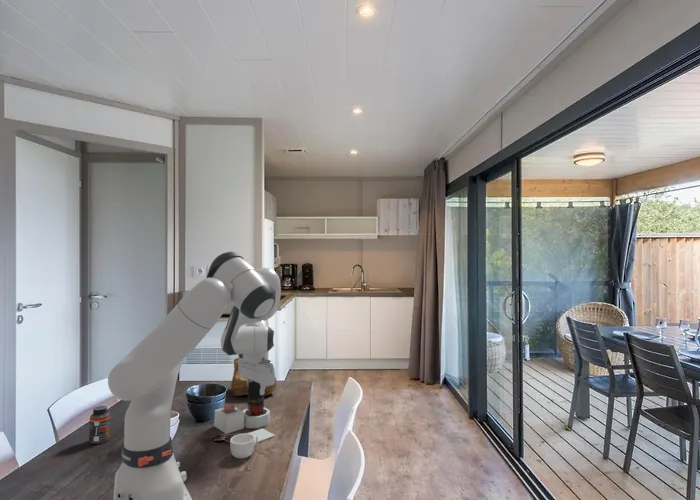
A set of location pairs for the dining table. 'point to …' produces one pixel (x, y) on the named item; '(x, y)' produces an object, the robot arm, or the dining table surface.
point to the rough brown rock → (244, 383)
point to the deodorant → (255, 400)
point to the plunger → (229, 408)
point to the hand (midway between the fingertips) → (256, 392)
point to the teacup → (242, 445)
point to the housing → (239, 420)
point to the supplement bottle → (99, 425)
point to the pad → (262, 435)
